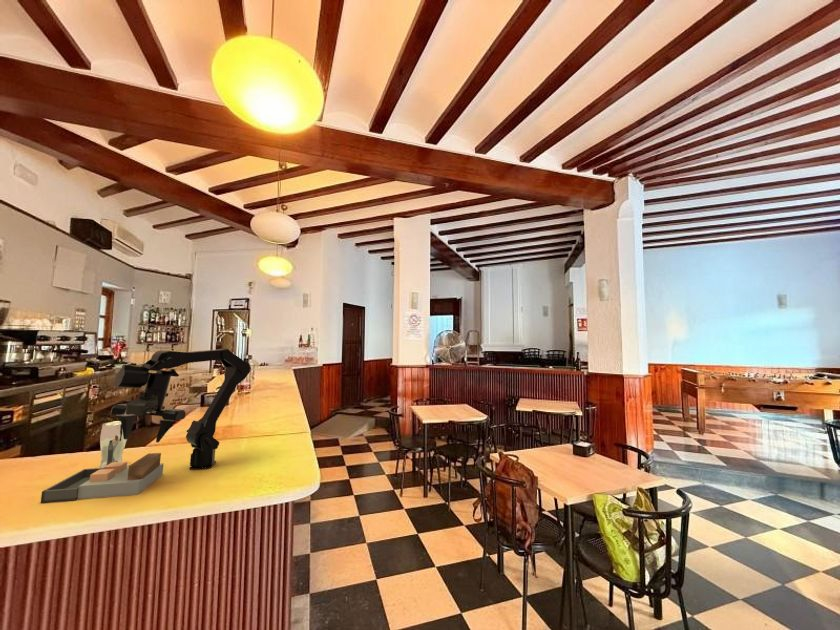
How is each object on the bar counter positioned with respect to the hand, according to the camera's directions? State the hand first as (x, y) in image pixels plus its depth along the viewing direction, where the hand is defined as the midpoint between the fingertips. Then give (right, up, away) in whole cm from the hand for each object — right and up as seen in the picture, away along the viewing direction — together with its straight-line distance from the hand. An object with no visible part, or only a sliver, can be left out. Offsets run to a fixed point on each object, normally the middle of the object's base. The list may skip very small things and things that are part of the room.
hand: (141, 440), depth 103 cm
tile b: (-6, -9, -6) cm, 12 cm away
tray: (-13, -12, -5) cm, 19 cm away
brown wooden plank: (+2, -9, -1) cm, 10 cm away
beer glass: (-19, -14, +11) cm, 26 cm away
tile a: (-8, -9, 0) cm, 12 cm away
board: (-3, -13, -2) cm, 13 cm away
